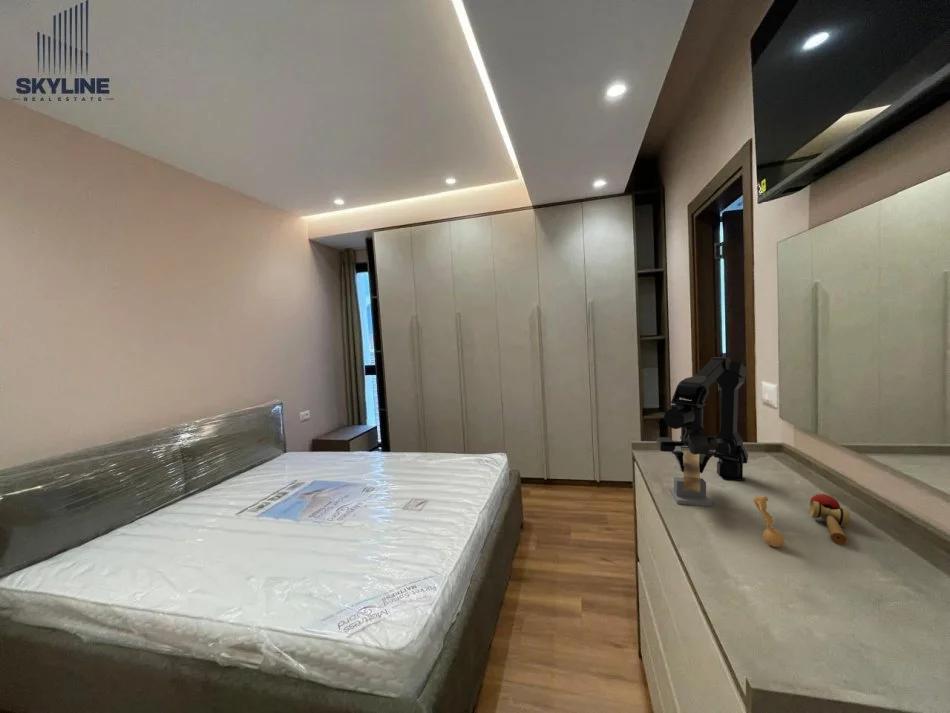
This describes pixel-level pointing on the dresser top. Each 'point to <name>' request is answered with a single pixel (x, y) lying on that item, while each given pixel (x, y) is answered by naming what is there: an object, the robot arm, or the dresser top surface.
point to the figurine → (770, 534)
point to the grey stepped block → (689, 493)
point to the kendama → (831, 515)
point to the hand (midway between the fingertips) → (691, 472)
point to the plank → (691, 472)
